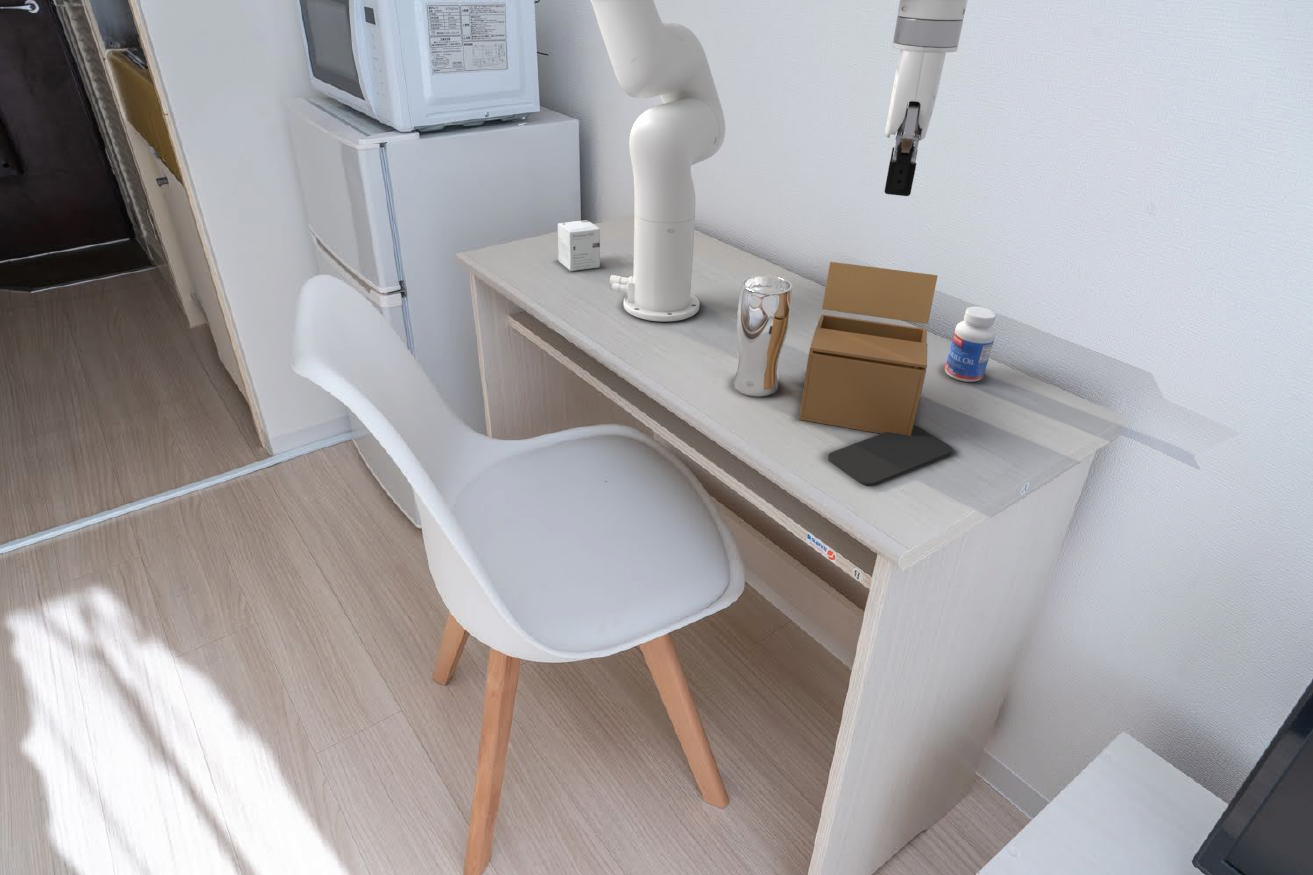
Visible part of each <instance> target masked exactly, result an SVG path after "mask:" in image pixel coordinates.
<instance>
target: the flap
mask: <svg viewBox="0 0 1313 875" xmlns="http://www.w3.org/2000/svg"><path fill="white" fill-rule="evenodd" d="M937 280H938V275H937V274H931V273H923V272H914V271H908V270H899V269H891V268H885V267H884V268H883V267H877V266H876V267H875V266H869V265H868V266H867V265H859V264H851V263H845V262H844V263H843V262H835V261H830V262H829V266H828V272H827V277H826V283H825V289H824V296H823V301H822V306H821V310H826V311H831V312H840V313H846V314H853V315H862V316H867V317H875V318H882V319H889V320H895V321H896V320H897V321H903V322H911V323H918V324H925V325H928V324H929V321H930V315H931V312H932V311H931V310H932V306H933V300H934V296H935V291H936V286H937Z"/></svg>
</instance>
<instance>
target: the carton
mask: <svg viewBox="0 0 1313 875" xmlns="http://www.w3.org/2000/svg"><path fill="white" fill-rule="evenodd" d="M806 362H807V363H806V368H805V377H804V383H803V390H802V396H801V402H800V403H801V404H800V409H799V417H798V420H799V421H806V422H810V423H816V424H822V425H827V426H833V427H834V426H835V427H840V428H845V429H852V430H857V431H864V432H867V433H875V434H879V435H880V434H883V433H886V432H891V433H897V434H903V435H909V436H911V433H912V429H913V425H915V420H916V416H917V412H918V408H919V403H920V399H921V395H922V392H923V391H922V390H923V387H924V383H925V379H926V374H927V367H928V328H922V327H918V326H917V327H916V326H911V325H901V324H895V323H888V322H880V321H874V320H867V319H860V318H853V317H845V316H839V315H838V316H837V315H832V314H825V313H821V314H820V316H819V318H818V322H817V325H816V327H815V329H814V333H813V337H812V340H811V343H810V346H809V351H808V355H807V361H806Z"/></svg>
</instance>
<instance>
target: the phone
mask: <svg viewBox="0 0 1313 875" xmlns="http://www.w3.org/2000/svg"><path fill="white" fill-rule="evenodd" d="M953 451H954V449H953V447H952V446H951V445H949V444H948V443H947V442H944V441H943V440H941V439H940V438H938V437H937V436H935V435H933V434H932V433H931V432H928V431H927V430H925V429H924V428H921V427H920V426H918V425H915V424H914V425H913V429H912V433H911V436H909V435H903V434H897V433H891V432H886V433H883V434H880V433H879V434H878V435H874V436H872V437H869V438H867V439H864V440H861V441H858V442H856V443H853V444H850V445H847V446H844V447H841V448H839V449H837V450H834V451H831V452H829V454H827V460H828V462H829V463H831V464H832V465H834V466H835V467H836V468H838V470H841V471H842V472H843V473H845V474H846V475H847V476H849V477H850V478H852V479H853V480H855V481H856V482H857V483H859V484H861V485H863V486H867V487H873V486H876V485H877V486H878V485H879V484H882V483H885V482H887V481H889V480H892V479H894V478H897V477H899V476H902V475H904V474H907V473H910V472H912V471H915V470H918V469H920V468H923V467H926V466H928V465H931V464H933V463H935V462H937V461H940V460H943V459H945V458H948V457H950V456H952V454H953Z"/></svg>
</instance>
